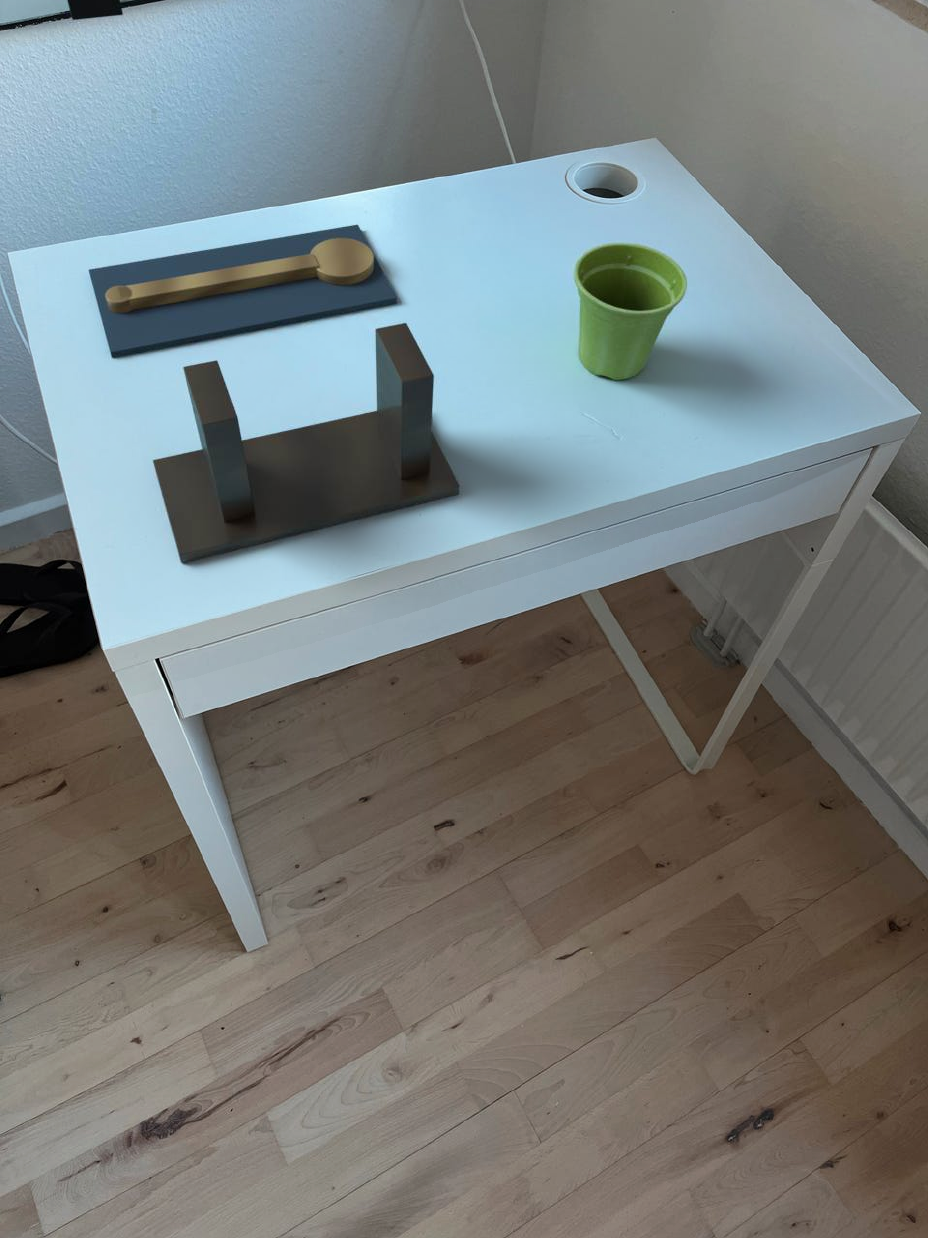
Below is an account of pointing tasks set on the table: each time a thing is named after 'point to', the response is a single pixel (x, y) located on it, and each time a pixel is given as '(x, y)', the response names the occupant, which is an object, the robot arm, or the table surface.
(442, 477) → the rack
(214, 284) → the ladle
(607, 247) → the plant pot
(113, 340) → the mat
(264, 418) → the table surface
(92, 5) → the robot arm
